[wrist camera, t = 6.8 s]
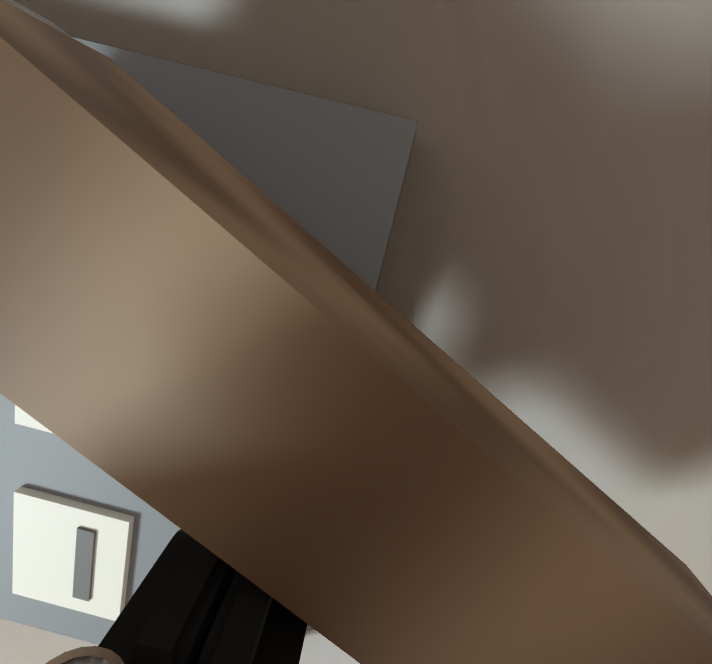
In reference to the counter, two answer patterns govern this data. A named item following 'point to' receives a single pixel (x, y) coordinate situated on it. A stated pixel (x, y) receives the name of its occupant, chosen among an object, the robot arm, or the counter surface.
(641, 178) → the counter surface
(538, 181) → the counter surface
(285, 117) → the label board
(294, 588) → the swing arm
